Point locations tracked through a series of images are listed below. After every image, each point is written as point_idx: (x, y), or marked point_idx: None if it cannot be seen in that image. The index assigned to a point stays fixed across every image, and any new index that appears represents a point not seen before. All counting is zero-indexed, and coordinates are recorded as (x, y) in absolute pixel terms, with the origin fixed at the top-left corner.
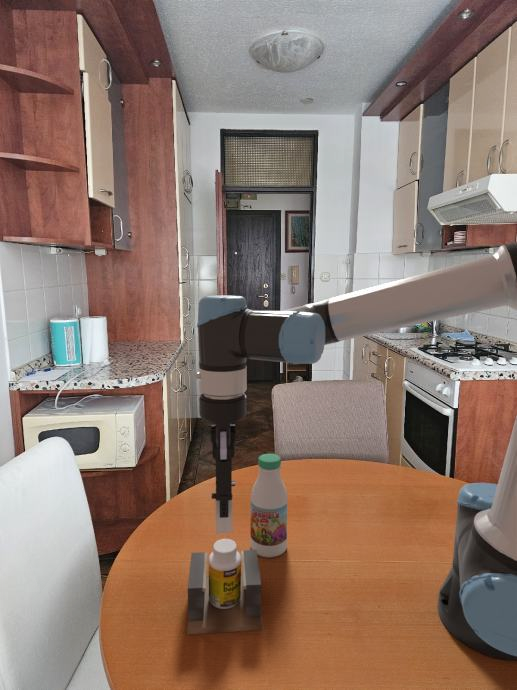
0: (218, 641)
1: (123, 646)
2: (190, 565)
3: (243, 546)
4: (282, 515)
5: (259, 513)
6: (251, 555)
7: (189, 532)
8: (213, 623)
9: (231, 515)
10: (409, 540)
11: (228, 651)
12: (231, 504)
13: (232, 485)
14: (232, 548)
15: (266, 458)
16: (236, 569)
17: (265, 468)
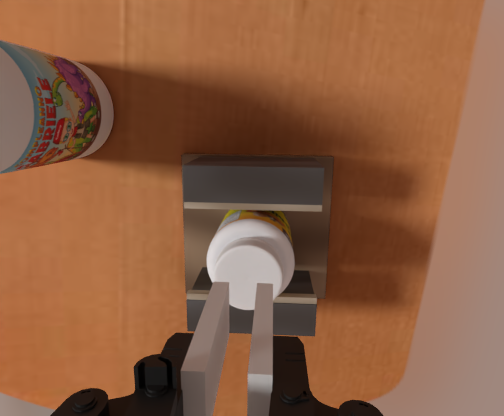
0: (346, 239)
1: (333, 388)
2: (236, 332)
3: (70, 174)
4: (36, 64)
5: (40, 148)
6: (207, 182)
7: (20, 299)
8: (318, 252)
9: (272, 320)
10: None
11: (371, 222)
12: (271, 349)
13: (175, 375)
14: (264, 258)
15: None
16: (283, 231)
17: None
